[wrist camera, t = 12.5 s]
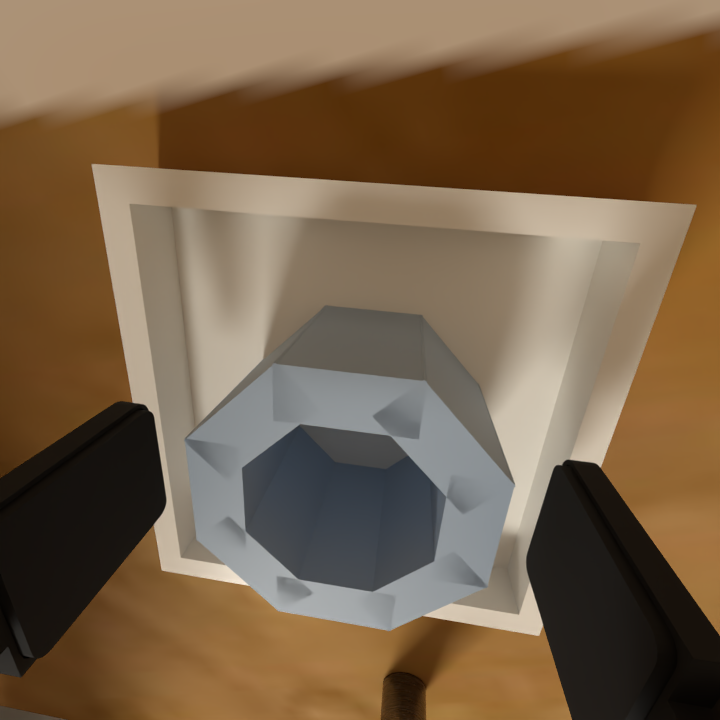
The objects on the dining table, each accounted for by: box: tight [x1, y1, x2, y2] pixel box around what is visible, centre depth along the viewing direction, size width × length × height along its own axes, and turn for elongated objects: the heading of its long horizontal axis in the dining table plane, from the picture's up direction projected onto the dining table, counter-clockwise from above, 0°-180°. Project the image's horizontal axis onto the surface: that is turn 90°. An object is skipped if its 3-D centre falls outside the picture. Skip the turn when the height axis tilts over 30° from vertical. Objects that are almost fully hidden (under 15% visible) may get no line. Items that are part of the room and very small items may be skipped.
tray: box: [92, 164, 697, 636], centre depth 12 cm, size 13×13×2 cm
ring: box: [184, 305, 516, 631], centre depth 10 cm, size 7×8×4 cm
